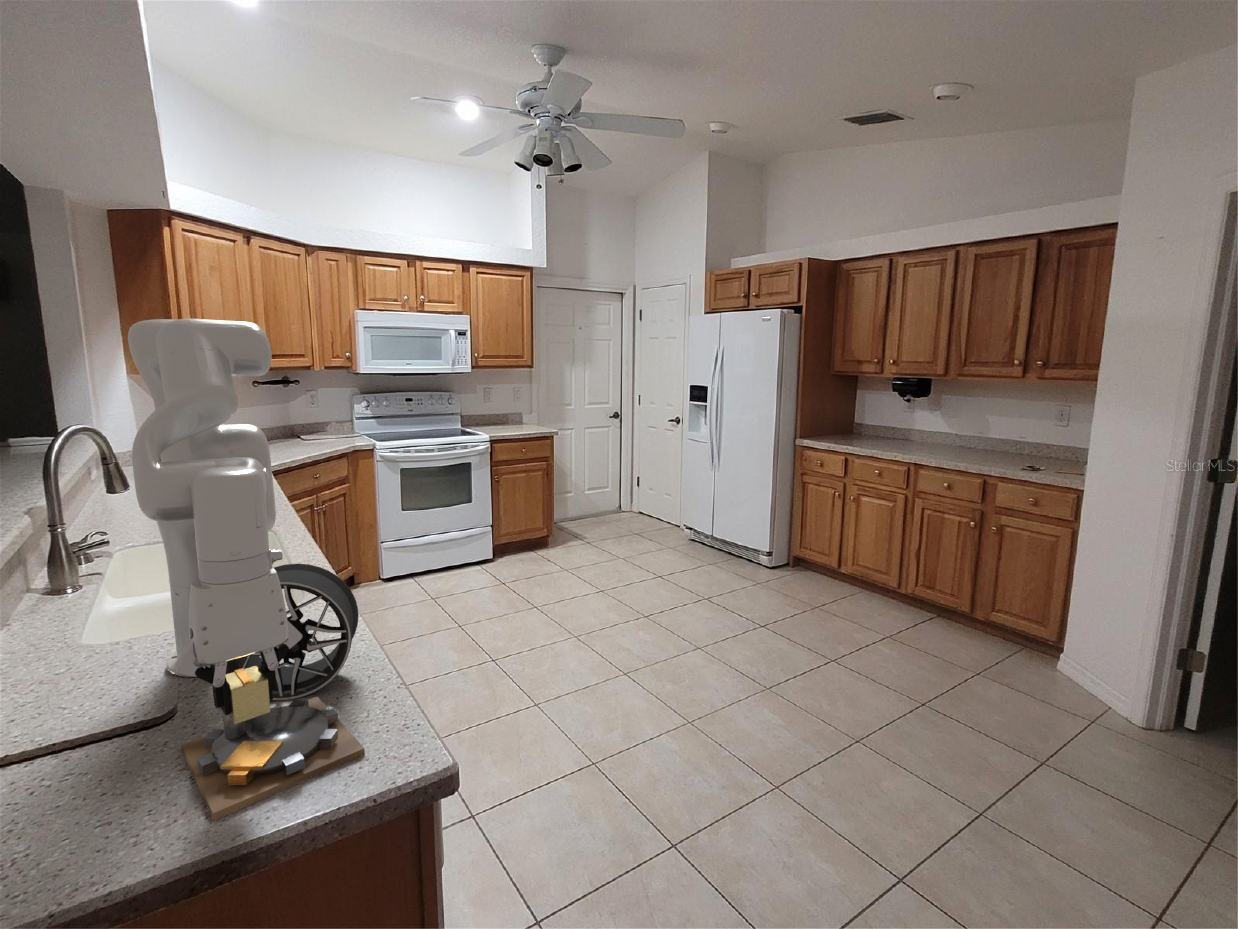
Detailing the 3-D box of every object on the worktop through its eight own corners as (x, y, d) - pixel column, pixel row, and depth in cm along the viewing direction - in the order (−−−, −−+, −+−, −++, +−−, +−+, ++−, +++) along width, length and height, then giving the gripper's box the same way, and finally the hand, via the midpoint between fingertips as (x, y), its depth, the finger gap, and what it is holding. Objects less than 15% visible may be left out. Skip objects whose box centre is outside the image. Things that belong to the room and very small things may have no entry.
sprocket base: (181, 750, 84) (180, 742, 84) (317, 702, 97) (317, 694, 97) (213, 821, 72) (212, 811, 72) (364, 754, 84) (364, 746, 84)
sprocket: (167, 785, 75) (160, 723, 74) (244, 708, 92) (240, 656, 91) (306, 784, 76) (302, 723, 75) (357, 708, 93) (355, 657, 91)
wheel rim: (216, 707, 95) (205, 586, 91) (235, 678, 103) (226, 566, 100) (353, 692, 100) (348, 577, 97) (361, 665, 109) (356, 559, 105)
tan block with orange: (224, 708, 78) (220, 674, 77) (258, 697, 81) (256, 664, 80) (234, 724, 75) (231, 689, 74) (270, 712, 77) (267, 677, 77)
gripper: (297, 547, 83) (305, 670, 86) (145, 574, 71) (160, 716, 74) (317, 559, 78) (325, 691, 81) (157, 591, 66) (172, 744, 69)
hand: (246, 702), depth 77 cm, fingers closed on tan block with orange, 4 cm apart
